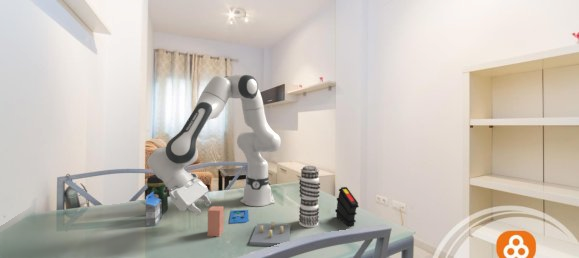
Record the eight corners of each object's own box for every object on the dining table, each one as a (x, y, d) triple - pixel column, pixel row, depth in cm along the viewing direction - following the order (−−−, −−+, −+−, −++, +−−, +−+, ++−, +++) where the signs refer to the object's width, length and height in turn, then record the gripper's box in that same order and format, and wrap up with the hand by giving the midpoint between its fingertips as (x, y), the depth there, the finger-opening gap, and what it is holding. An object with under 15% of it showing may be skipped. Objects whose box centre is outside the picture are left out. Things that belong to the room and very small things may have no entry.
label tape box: (155, 225, 101) (155, 196, 101) (144, 226, 100) (145, 197, 100) (162, 217, 109) (162, 190, 109) (152, 218, 109) (152, 191, 108)
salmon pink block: (211, 231, 97) (212, 206, 97) (223, 231, 97) (223, 206, 97) (207, 236, 93) (207, 210, 92) (219, 236, 92) (219, 210, 92)
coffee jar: (153, 208, 120) (153, 171, 120) (169, 208, 121) (170, 171, 121) (143, 216, 111) (144, 175, 110) (161, 215, 112) (162, 175, 111)
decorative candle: (293, 222, 107) (295, 166, 107) (308, 217, 113) (310, 164, 112) (308, 229, 100) (309, 169, 100) (323, 224, 106) (324, 167, 105)
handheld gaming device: (229, 222, 104) (231, 209, 119) (229, 224, 104) (231, 212, 119) (248, 221, 106) (248, 209, 121) (248, 223, 106) (248, 211, 121)
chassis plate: (257, 226, 102) (257, 217, 102) (290, 227, 102) (290, 218, 102) (249, 245, 86) (249, 235, 86) (288, 246, 86) (288, 236, 86)
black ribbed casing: (339, 210, 119) (346, 186, 112) (352, 232, 108) (361, 207, 101) (332, 211, 118) (339, 186, 111) (344, 233, 106) (354, 207, 100)
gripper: (172, 184, 84) (200, 213, 84) (197, 172, 105) (219, 196, 105) (160, 196, 85) (187, 225, 84) (187, 182, 105) (209, 205, 105)
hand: (205, 209), depth 95 cm, fingers open, 8 cm apart
